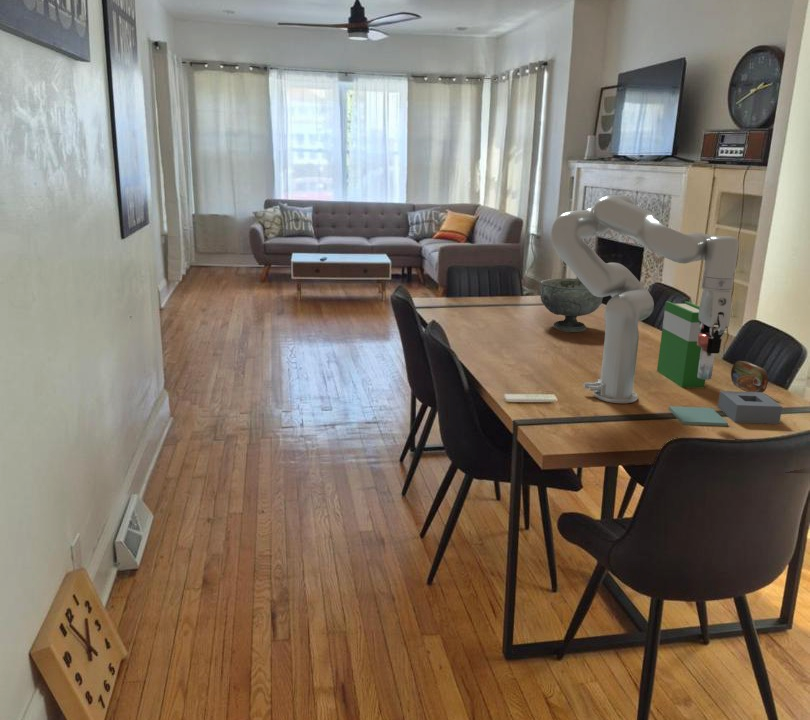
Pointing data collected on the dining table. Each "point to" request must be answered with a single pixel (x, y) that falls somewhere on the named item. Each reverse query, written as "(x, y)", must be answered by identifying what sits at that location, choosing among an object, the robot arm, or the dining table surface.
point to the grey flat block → (749, 407)
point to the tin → (749, 377)
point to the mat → (698, 416)
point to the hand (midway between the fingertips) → (708, 349)
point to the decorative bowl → (568, 302)
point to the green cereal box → (680, 345)
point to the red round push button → (705, 357)
